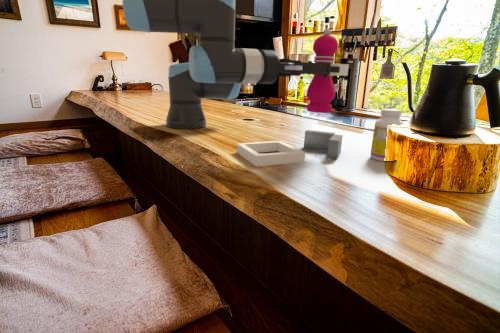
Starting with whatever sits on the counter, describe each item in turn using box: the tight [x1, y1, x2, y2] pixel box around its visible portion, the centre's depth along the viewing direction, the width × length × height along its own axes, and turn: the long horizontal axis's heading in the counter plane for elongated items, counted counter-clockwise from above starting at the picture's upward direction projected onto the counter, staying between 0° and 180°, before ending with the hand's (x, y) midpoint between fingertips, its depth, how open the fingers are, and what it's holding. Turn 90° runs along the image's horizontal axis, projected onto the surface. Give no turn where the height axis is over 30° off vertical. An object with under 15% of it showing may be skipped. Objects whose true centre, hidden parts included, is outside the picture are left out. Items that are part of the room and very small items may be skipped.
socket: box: [236, 140, 306, 168], centre depth 77 cm, size 13×13×2 cm
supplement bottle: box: [370, 108, 404, 162], centre depth 78 cm, size 7×7×13 cm
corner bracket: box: [303, 129, 343, 161], centre depth 83 cm, size 15×7×5 cm, turn 22°
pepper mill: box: [306, 27, 339, 114], centre depth 76 cm, size 7×7×20 cm
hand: (340, 69), depth 78 cm, fingers closed on pepper mill, 5 cm apart
